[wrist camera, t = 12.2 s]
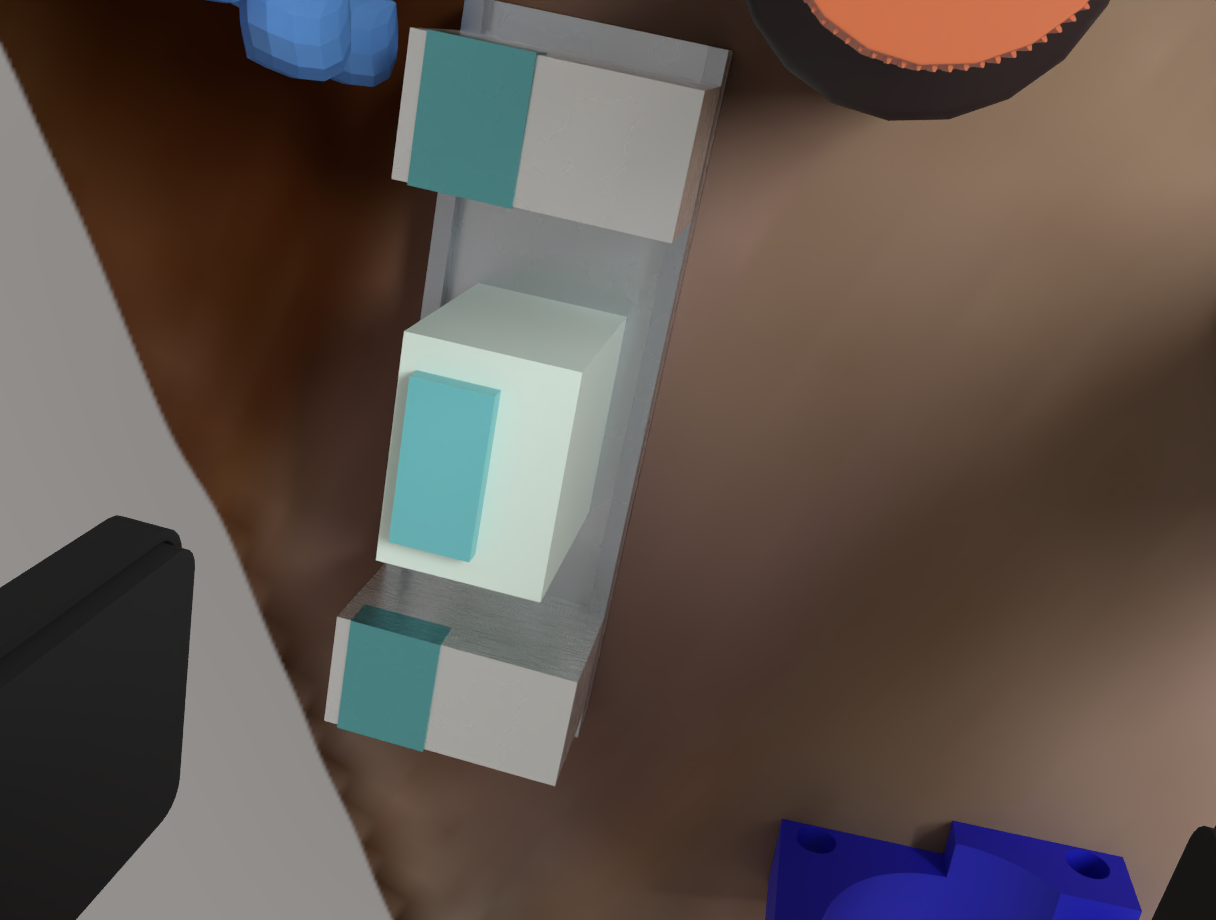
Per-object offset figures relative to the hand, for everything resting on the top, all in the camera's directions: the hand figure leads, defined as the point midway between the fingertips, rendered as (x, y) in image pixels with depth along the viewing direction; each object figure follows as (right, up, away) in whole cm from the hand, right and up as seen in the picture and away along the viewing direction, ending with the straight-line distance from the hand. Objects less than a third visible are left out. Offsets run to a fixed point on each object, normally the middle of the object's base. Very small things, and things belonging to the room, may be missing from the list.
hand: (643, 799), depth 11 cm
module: (-3, +5, +28) cm, 29 cm away
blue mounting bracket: (+12, -12, +33) cm, 37 cm away
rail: (-3, +5, +29) cm, 30 cm away
